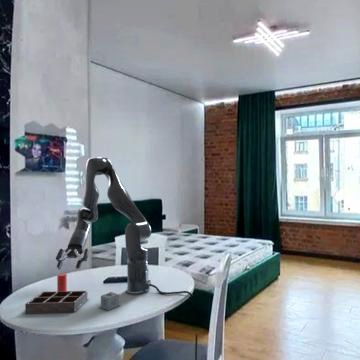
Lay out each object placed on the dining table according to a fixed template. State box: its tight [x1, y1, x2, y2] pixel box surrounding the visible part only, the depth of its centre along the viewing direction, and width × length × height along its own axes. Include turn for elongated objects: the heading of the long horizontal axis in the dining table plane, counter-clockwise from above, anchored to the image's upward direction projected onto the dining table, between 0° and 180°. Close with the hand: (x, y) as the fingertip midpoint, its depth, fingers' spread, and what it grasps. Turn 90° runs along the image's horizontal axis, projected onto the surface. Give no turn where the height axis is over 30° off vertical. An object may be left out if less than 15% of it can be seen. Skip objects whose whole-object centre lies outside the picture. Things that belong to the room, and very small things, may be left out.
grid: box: [24, 290, 88, 314], centre depth 131 cm, size 19×13×4 cm
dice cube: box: [100, 291, 120, 311], centre depth 130 cm, size 5×5×5 cm
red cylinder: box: [56, 273, 68, 291], centre depth 144 cm, size 4×4×9 cm
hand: (68, 268), depth 150 cm, fingers open, 8 cm apart
